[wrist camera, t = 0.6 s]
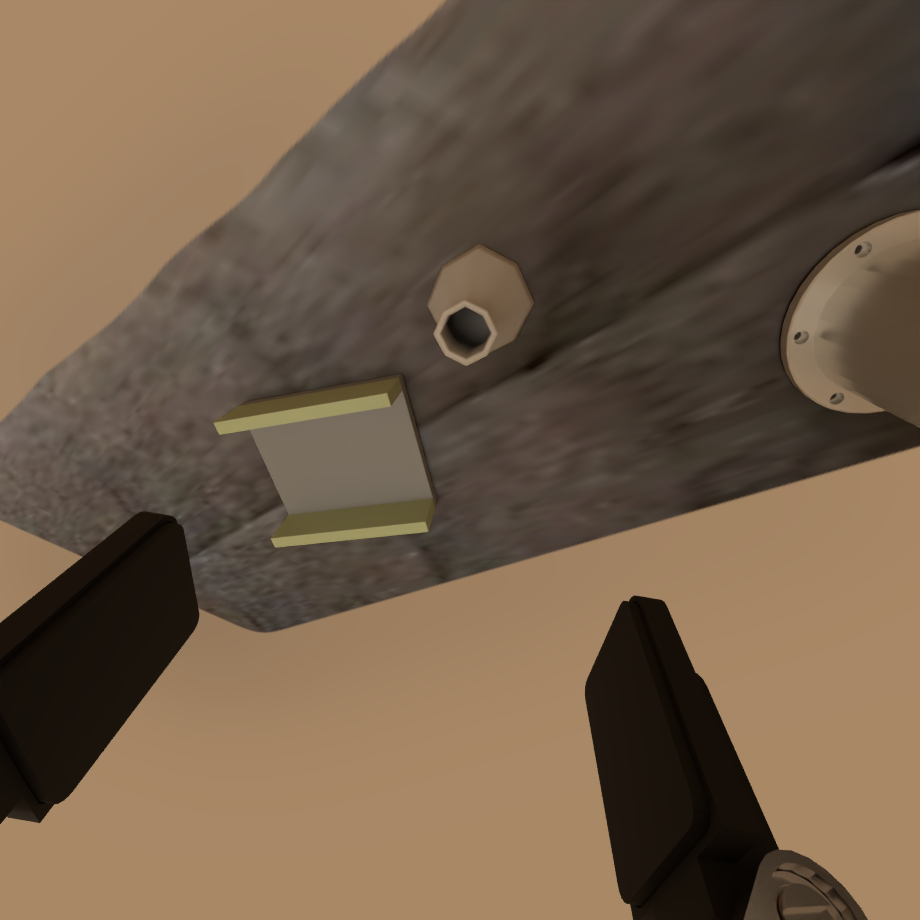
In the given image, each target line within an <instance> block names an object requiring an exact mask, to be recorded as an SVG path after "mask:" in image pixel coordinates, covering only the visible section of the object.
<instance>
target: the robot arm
mask: <svg viewBox="0 0 920 920" xmlns="http://www.w3.org/2000/svg"><path fill="white" fill-rule="evenodd" d="M856 247H857V250H856V251H855V249H856ZM797 333H798V334H797ZM796 334H797V336H796V337H795V335H796ZM794 337H795V338H794ZM780 344H781V359H782V362H783V365H784V368H785V372H786V374H787V375H788V377H789V379H790V380H791V382H792V383H793V385H794V386H795V387H796V388H797V389H798V390H799V391H800V392H801V393H802V394H803V395H805V396H806V397H808V398H810V399H811V400H813V401H814V402H816V403H818V404H820V405H822V406H824V407H826V408H829V409H832V410H837V411H841V412H846V413H875V412H882V411H888V412H890V413H892V414H893V415H895V416H897V417H899V418H901V419H903V420H905V421H907V422H909V423H911V424H913V425H915V426H917V427H919V428H920V209H918V210H913V211H909V212H904V213H899V214H897V215H894V216H891V217H889V218H886V219H883V220H881V221H878V222H875V223H874V224H872V225H870V226H868V227H866V228H865V229H863V230H861V231H859V232H857V233H855V234H854V235H852V236H851V237H849V238H848V239H847V240H845V241H844V242H843V243H841V244H840V245H839V246H837V247H836V248H835V249H833V250H832V251H831V252H830V253H829V254H828V255H827V256H826V257H825V258H824V259H823V260H822V261H821V262H820V263H819V264H818V265H817V266H816V267H815V268H814V269H813V270H812V272H811V273H810V274H809V275H808V277H807V278H806V279H805V281H804V282H803V283H802V285H801V286H800V288H799V289H798V291H797V293H796V295H795V297H794V298H793V300H792V302H791V304H790V306H789V309H788V311H787V314H786V317H785V320H784V322H783V328H782V334H781V340H780ZM198 620H199V610H198V604H197V599H196V594H195V588H194V583H193V577H192V572H191V567H190V561H189V556H188V551H187V545H186V540H185V535H184V530H183V527H182V526H181V525H179V524H178V523H177V521H176V519H175V518H174V517H173V516H169V515H163V514H158V513H152V512H146V511H144V512H140V513H138V514H136V515H135V516H134V517H132V518H131V519H130V520H129V521H127V522H126V523H125V524H123V525H122V526H121V527H120V528H118V529H117V530H116V531H115V532H113V533H112V534H111V535H110V536H108V537H107V538H106V539H105V540H103V541H102V542H101V543H100V544H98V545H97V546H96V547H95V548H93V549H92V550H91V551H90V552H88V553H87V554H86V555H85V556H83V557H82V558H81V559H80V560H78V561H77V562H76V563H75V564H73V565H72V566H71V567H70V568H68V569H67V570H66V571H65V572H63V573H62V574H61V575H60V576H58V577H57V578H56V579H55V580H53V581H52V582H51V583H50V584H48V585H47V586H46V587H45V588H43V589H42V590H41V591H40V592H38V593H37V594H36V595H35V596H33V597H32V598H31V599H30V600H28V601H27V602H26V603H25V604H23V605H22V606H21V607H20V608H18V609H17V610H16V611H15V612H13V613H12V614H11V615H10V616H8V617H7V618H6V619H5V620H3V621H2V622H1V623H0V824H1V823H2V821H3V820H4V819H5V818H6V817H8V818H14V819H20V820H26V821H32V822H37V823H40V822H41V821H42V820H43V818H44V817H45V816H46V814H47V813H48V812H49V810H50V809H51V808H52V806H53V805H54V804H59V803H60V802H62V801H64V800H65V799H66V798H67V797H68V796H69V795H70V794H71V793H72V792H73V790H74V789H75V788H76V786H77V785H78V783H79V782H80V781H81V780H82V779H83V777H84V776H85V775H86V773H87V772H88V771H89V769H90V768H91V767H92V765H93V764H94V763H95V761H96V760H97V759H98V757H99V756H100V754H101V753H102V752H103V751H104V749H105V748H106V747H107V745H108V744H109V743H110V741H111V740H112V739H113V737H114V736H115V735H116V733H117V732H118V731H119V729H120V728H121V727H122V726H123V724H124V723H125V721H126V720H127V719H128V717H129V716H130V715H131V713H132V712H133V711H134V710H135V708H136V707H137V705H138V704H139V703H140V702H141V700H142V699H143V698H144V696H145V695H146V694H147V692H148V691H149V690H150V688H151V687H152V686H153V684H154V683H155V682H156V680H157V679H158V678H159V676H160V675H161V674H162V672H163V671H164V670H165V668H166V667H167V666H168V665H169V663H170V662H171V660H172V659H173V658H174V656H175V655H176V654H177V653H178V651H179V650H180V649H181V647H182V646H183V645H184V643H185V642H186V641H187V639H188V638H189V636H190V635H191V634H192V633H193V631H194V630H195V628H196V626H197V623H198ZM585 699H586V705H587V711H588V717H589V722H590V727H591V734H592V739H593V745H594V751H595V757H596V762H597V768H598V774H599V780H600V785H601V791H602V797H603V803H604V808H605V814H606V820H607V825H608V831H609V837H610V843H611V848H612V854H613V859H614V865H615V871H616V877H617V883H618V887H619V892H620V895H621V898H622V899H623V901H624V902H625V903H626V904H630V905H631V910H632V916H633V920H868V919H867V918H866V916H865V914H864V912H863V910H862V909H861V908H860V906H859V905H858V904H857V902H856V901H855V900H854V899H853V897H852V896H851V895H850V894H849V892H848V891H847V890H846V888H845V887H844V886H843V885H842V884H841V883H839V882H838V881H837V880H836V879H835V878H834V877H833V876H832V875H831V874H830V873H829V872H828V871H827V870H826V869H824V868H823V867H821V866H820V865H818V864H817V863H816V862H814V861H813V860H811V859H810V858H808V857H806V856H803V855H801V854H799V853H796V852H794V851H790V850H779V848H778V846H777V844H776V841H775V839H774V837H773V835H772V832H771V830H770V828H769V826H768V824H767V821H766V819H765V817H764V814H763V812H762V810H761V808H760V805H759V803H758V801H757V798H756V796H755V794H754V792H753V790H752V787H751V785H750V783H749V780H748V778H747V776H746V774H745V771H744V769H743V767H742V764H741V762H740V760H739V758H738V756H737V753H736V751H735V749H734V746H733V744H732V742H731V740H730V737H729V735H728V733H727V731H726V728H725V726H724V724H723V722H722V719H721V717H720V715H719V713H718V710H717V708H716V706H715V704H714V701H713V699H712V697H711V694H710V692H709V690H708V688H707V686H706V684H705V682H704V680H703V679H702V678H701V677H700V676H699V675H698V674H697V673H695V670H694V668H693V666H692V663H691V661H690V659H689V657H688V654H687V652H686V650H685V647H684V645H683V643H682V640H681V638H680V636H679V633H678V631H677V629H676V626H675V624H674V622H673V619H672V617H671V615H670V612H669V610H668V608H667V606H666V604H665V602H664V601H662V600H659V599H653V598H647V597H641V596H633V597H631V599H630V600H629V602H628V601H623V602H622V603H621V605H620V607H619V609H618V611H617V613H616V616H615V618H614V620H613V622H612V625H611V627H610V629H609V631H608V634H607V636H606V638H605V641H604V643H603V645H602V647H601V650H600V652H599V654H598V656H597V658H596V661H595V663H594V665H593V667H592V670H591V672H590V674H589V676H588V679H587V681H586V686H585Z"/></svg>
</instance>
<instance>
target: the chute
mask: <svg viewBox="0 0 920 920" xmlns="http://www.w3.org/2000/svg"><path fill="white" fill-rule="evenodd" d="M214 425H215V427H216V429H217V431H218V433H219V435H220V434H226V433H232V432H238V431H245V430H250V431H251V434H252V436H253V438H254V440H255V442H256V444H257V447H258V449H259V451H260V453H261V455H262V457H263V460H264V462H265V464H266V466H267V468H268V471H269V473H270V475H271V477H272V479H273V481H274V484H275V486H276V488H277V490H278V492H279V494H280V497H281V499H282V501H283V503H284V505H285V508H286V510H287V512H288V514H289V516H288V517H287V518H286V520H285V521H284V522H283V523H282V525H281V526H280V527H279V528H278V530H277V531H276V532H275V534H274V535H273V536H272V537H271V540H272V542H273V544H274V546H275V547H285V546H295V545H304V544H314V543H324V542H333V541H343V540H353V539H362V538H372V537H382V536H391V535H401V534H411V533H420V532H428V531H429V528H430V524H431V521H432V517H433V514H434V510H435V507H436V504H437V499H436V495H435V492H434V488H433V484H432V481H431V477H430V474H429V470H428V466H427V463H426V459H425V455H424V452H423V448H422V445H421V441H420V437H419V434H418V430H417V426H416V423H415V419H414V416H413V412H412V408H411V405H410V401H409V398H408V394H407V390H406V387H405V383H404V379H403V376H402V374H398V375H392V376H386V377H381V378H375V379H370V380H364V381H358V382H353V383H347V384H342V385H336V386H330V387H325V388H319V389H314V390H308V391H302V392H297V393H291V394H286V395H280V396H275V397H269V398H263V399H258V400H252V401H247V402H244V403H243V404H241V405H240V406H238V407H237V408H235V409H234V410H232V411H231V412H229V413H228V414H226V415H224V416H223V417H221V418H220V419H218V420H217V421H215V422H214Z"/></svg>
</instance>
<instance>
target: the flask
mask: <svg viewBox="0 0 920 920" xmlns="http://www.w3.org/2000/svg"><path fill="white" fill-rule="evenodd" d="M426 305H427V307H428V308H429V310H430V312H431V314H432V316H433V318H434V320H435V321H436V323H437V327H436V329H435V332H434V336H435V338H436V340H437V342H438V344H439V345H440V347H441V349H442V351H443V353H444V355H445V356H447V357H449V358H451V359H453V360H455V361H457V362H459V363H461V364H463V365H465V366H467V365H469V364H471V363H473V362H475V361H477V360H479V359H482V358H484V357H486V356H487V355H488V353H490V352H492V351H494V350H496V349H498V348H500V347H502V346H504V345H506V344H508V343H510V342H512V341H514V340H515V339H516V337H517V335H518V334H519V332H520V330H521V328H522V326H523V324H524V322H525V320H526V318H527V316H528V315H529V313H530V311H531V309H532V307H533V305H534V301H533V298H532V296H531V294H530V292H529V289H528V287H527V285H526V283H525V280H524V278H523V276H522V273H521V271H520V269H519V267H518V264H517V263H515V262H513V261H511V260H509V259H507V258H506V257H504V256H502V255H500V254H498V253H496V252H494V251H492V250H490V249H488V248H486V247H485V246H483V245H481V244H478V245H476V246H474V247H473V248H471V249H469V250H468V251H466V252H464V253H462V254H461V255H459V256H457V257H456V258H454V259H452V260H451V261H449V262H447V263H445V264H444V265H442V267H441V270H440V272H439V275H438V277H437V280H436V282H435V284H434V287H433V289H432V292H431V294H430V297H429V299H428V302H427V304H426Z"/></svg>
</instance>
